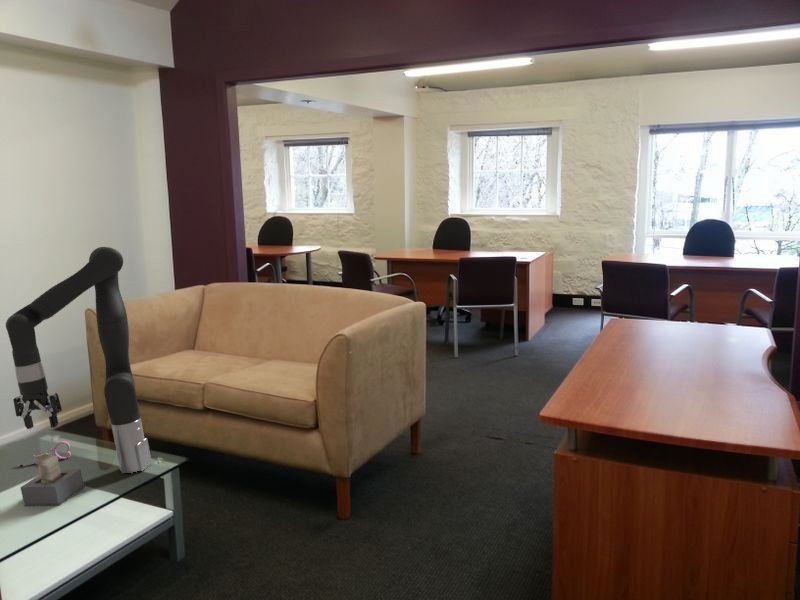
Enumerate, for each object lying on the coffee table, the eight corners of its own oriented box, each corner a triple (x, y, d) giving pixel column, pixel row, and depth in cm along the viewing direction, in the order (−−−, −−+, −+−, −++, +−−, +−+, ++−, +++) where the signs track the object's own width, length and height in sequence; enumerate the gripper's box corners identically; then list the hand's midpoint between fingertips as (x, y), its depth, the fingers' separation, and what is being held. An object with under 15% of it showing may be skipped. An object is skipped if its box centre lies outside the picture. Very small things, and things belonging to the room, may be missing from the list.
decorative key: (18, 474, 231) (74, 455, 234) (16, 475, 230) (73, 457, 233) (10, 457, 229) (67, 439, 232) (9, 458, 228) (66, 440, 231)
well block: (84, 487, 206) (80, 468, 205) (59, 505, 194) (55, 486, 193) (51, 487, 208) (47, 469, 207) (24, 506, 196) (20, 487, 195)
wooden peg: (64, 491, 202) (57, 455, 200) (56, 497, 199) (48, 461, 197) (53, 491, 203) (46, 456, 201) (44, 497, 199) (36, 461, 197)
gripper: (60, 372, 199) (70, 421, 201) (19, 375, 201) (30, 424, 204) (43, 380, 191) (54, 431, 194) (1, 383, 194) (13, 433, 197)
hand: (42, 427), depth 199 cm, fingers open, 8 cm apart
